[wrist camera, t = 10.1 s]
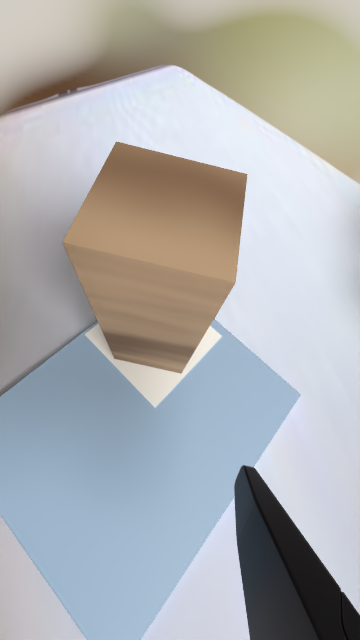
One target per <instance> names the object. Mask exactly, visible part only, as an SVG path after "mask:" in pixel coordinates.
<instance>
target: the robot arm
mask: <svg viewBox="0 0 360 640" xmlns="http://www.w3.org/2000/svg"><path fill="white" fill-rule="evenodd" d="M234 494H235V515H236V535H237V546H238V554H239V561H240V568H241V576H242V583H243V590H244V597H245V605H246V612H247V619H248V626H249V634H250V640H360V615H359V613H358V612H357V611H356V609H355V608H354V606H353V605H352V604H351V602H350V601H349V599H348V598H347V597H346V595H345V594H344V592H341V589H340V587H339V585H338V584H337V583H336V581H335V580H334V578H333V577H332V576H331V574H330V573H329V571H328V570H327V569H326V567H325V566H324V564H323V563H322V562H321V560H320V559H319V557H318V556H317V555H316V553H315V552H314V550H313V549H312V548H311V546H310V545H309V543H308V542H307V541H306V539H305V538H304V536H303V535H302V534H301V532H300V531H299V529H298V528H297V527H296V525H295V524H294V522H293V521H292V520H291V518H290V517H289V515H288V514H287V513H286V511H285V510H284V508H283V507H282V506H281V504H280V503H279V501H278V500H277V499H276V497H275V496H274V494H273V493H272V492H271V490H270V489H269V487H268V486H267V484H266V483H265V482H264V480H263V479H262V477H261V476H260V475H259V473H258V472H257V470H256V469H255V468H254V467H251V466H246V465H242V466H241V468H240V470H239V473H238V475H237V478H236V480H235V484H234Z"/></svg>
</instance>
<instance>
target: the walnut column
mask: <svg viewBox="0 0 360 640" xmlns="http://www.w3.org/2000/svg"><path fill="white" fill-rule="evenodd" d="M246 181H247V174H244V173H240V172H236V171H232V170H228V169H224V168H220V167H216V166H212V165H208V164H204V163H200V162H196V161H192V160H188V159H184V158H180V157H176V156H172V155H168V154H164V153H160V152H156V151H152V150H148V149H144V148H140V147H136V146H132V145H128V144H124V143H120V142H116V143H115V145H114V147H113V149H112V151H111V152H110V154H109V156H108V158H107V160H106V162H105V164H104V165H103V167H102V169H101V171H100V173H99V175H98V177H97V178H96V180H95V182H94V184H93V186H92V188H91V190H90V192H89V193H88V195H87V197H86V199H85V201H84V203H83V205H82V206H81V208H80V210H79V212H78V214H77V216H76V218H75V219H74V221H73V223H72V225H71V227H70V229H69V231H68V232H67V234H66V236H65V238H64V240H63V242H62V243H63V245H64V247H65V249H66V252H67V254H68V256H69V258H70V261H71V263H72V265H73V267H74V270H75V272H76V274H77V276H78V278H79V281H80V283H81V285H82V287H83V290H84V292H85V294H86V296H87V299H88V301H89V303H90V305H91V308H92V310H93V312H94V314H95V317H96V319H97V321H98V323H99V326H100V328H101V330H102V332H103V334H104V337H105V339H106V341H107V343H108V346H109V348H110V350H111V352H112V355H113V357H114V359H117V360H122V361H126V362H131V363H135V364H140V365H145V366H149V367H154V368H158V369H163V370H167V371H172V372H176V373H181V374H182V372H183V370H184V368H185V367H186V365H187V363H188V362H189V360H190V358H191V357H192V355H193V353H194V352H195V350H196V348H197V347H198V345H199V343H200V342H201V340H202V338H203V337H204V335H205V333H206V331H207V330H208V328H209V326H210V325H211V323H212V321H213V320H214V318H215V316H216V315H217V313H218V311H219V310H220V308H221V306H222V305H223V303H224V301H225V300H226V298H227V296H228V294H229V293H230V291H231V289H232V288H233V286H234V284H235V282H236V273H237V264H238V255H239V245H240V236H241V227H242V218H243V208H244V199H245V190H246Z"/></svg>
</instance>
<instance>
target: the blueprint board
mask: <svg viewBox="0 0 360 640" xmlns="http://www.w3.org/2000/svg"><path fill="white" fill-rule="evenodd" d="M300 395H301V394H299V393H298V392H297V391H296V390H295V389H294V388H293V387H291V386H290V385H289V384H288V383H287V382H286V381H285V380H283V379H282V378H281V377H280V376H279V375H278V374H277V373H275V372H274V371H273V370H272V369H271V368H270V367H269V366H267V365H266V364H265V363H264V362H263V361H262V360H260V359H259V358H258V357H257V356H256V355H255V354H254V353H252V352H251V351H250V350H249V349H248V348H247V347H246V346H244V345H243V344H242V343H241V342H240V341H239V340H238V339H236V338H235V337H234V336H233V335H232V334H231V333H230V332H228V331H227V330H226V329H225V328H224V327H223V326H222V325H220V324H219V323H218V322H217V321H216V320H215V319H214V320H213V321H212V323H211V325H210V326H209V328H208V330H207V331H206V333H205V335H204V337H203V338H202V340H201V342H200V343H199V345H198V347H197V348H196V350H195V352H194V353H193V355H192V357H191V358H190V360H189V362H188V363H187V365H186V367H185V368H184V370H183V372H182V374H181V373H176V372H172V371H167V370H163V369H158V368H154V367H149V366H145V365H140V364H135V363H131V362H126V361H122V360H117V359H114V357H113V355H112V352H111V350H110V348H109V346H108V343H107V341H106V339H105V337H104V334H103V332H102V330H101V328H100V326H99V323H98V321H97V322H96V323H94V324H93V325H92V326H90V327H89V328H88V329H87V330H85V331H84V332H83V333H81V334H80V335H79V336H77V337H76V338H75V339H74V340H72V341H71V342H70V343H68V344H67V345H66V346H65V347H63V348H62V349H61V350H59V351H58V352H57V353H56V354H54V355H53V356H52V357H50V358H49V359H48V360H47V361H45V362H44V363H43V364H41V365H40V366H39V367H38V368H36V369H35V370H34V371H32V372H31V373H30V374H29V375H27V376H26V377H25V378H23V379H22V380H21V381H20V382H18V383H17V384H16V385H14V386H13V387H12V388H11V389H9V390H8V391H7V392H5V393H4V394H3V395H2V396H0V515H1V517H2V518H3V520H4V521H5V522H6V524H7V525H8V527H9V528H10V530H11V531H12V533H13V534H14V535H15V537H16V538H17V540H18V541H19V543H20V544H21V546H22V547H23V548H24V550H25V551H26V553H27V554H28V556H29V557H30V558H31V560H32V561H33V563H34V564H35V566H36V567H37V569H38V570H39V571H40V573H41V574H42V576H43V577H44V579H45V580H46V582H47V583H48V584H49V586H50V587H51V589H52V590H53V592H54V593H55V594H56V596H57V597H58V599H59V600H60V602H61V603H62V605H63V606H64V607H65V609H66V610H67V612H68V613H69V615H70V616H71V618H72V619H73V620H74V622H75V623H76V625H77V626H78V628H79V629H80V631H81V632H82V633H83V635H84V636H85V638H86V639H87V640H141V638H142V637H143V635H144V634H145V632H146V631H147V629H148V628H149V626H150V625H151V623H152V622H153V620H154V619H155V617H156V615H157V614H158V612H159V611H160V609H161V608H162V606H163V605H164V603H165V602H166V600H167V599H168V597H169V596H170V594H171V593H172V591H173V589H174V588H175V586H176V585H177V583H178V582H179V580H180V579H181V577H182V576H183V574H184V573H185V571H186V570H187V568H188V566H189V565H190V563H191V562H192V560H193V559H194V557H195V556H196V554H197V553H198V551H199V550H200V548H201V547H202V545H203V544H204V542H205V540H206V539H207V537H208V536H209V534H210V533H211V531H212V530H213V528H214V527H215V525H216V524H217V522H218V521H219V519H220V518H221V516H222V514H223V513H224V511H225V510H226V508H227V507H228V505H229V504H230V502H231V501H232V499H233V498H234V496H235V494H234V484H235V480H236V478H237V475H238V473H239V470H240V468H241V466H242V465H246V466H251V467H254V466H255V464H256V462H257V461H258V459H259V458H260V456H261V455H262V453H263V452H264V450H265V449H266V447H267V446H268V444H269V443H270V441H271V440H272V438H273V436H274V435H275V433H276V432H277V430H278V429H279V427H280V426H281V424H282V423H283V421H284V420H285V418H286V417H287V415H288V413H289V412H290V410H291V409H292V407H293V406H294V404H295V403H296V401H297V400H298V398H299V397H300Z"/></svg>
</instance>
